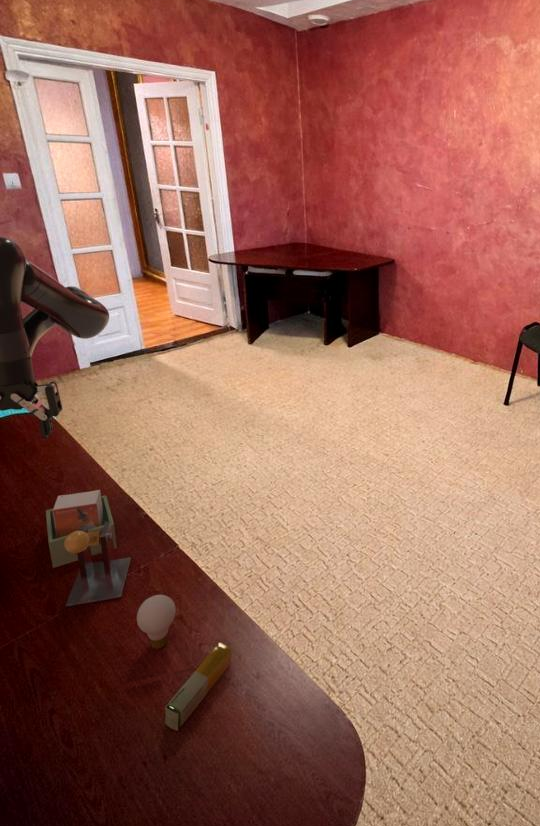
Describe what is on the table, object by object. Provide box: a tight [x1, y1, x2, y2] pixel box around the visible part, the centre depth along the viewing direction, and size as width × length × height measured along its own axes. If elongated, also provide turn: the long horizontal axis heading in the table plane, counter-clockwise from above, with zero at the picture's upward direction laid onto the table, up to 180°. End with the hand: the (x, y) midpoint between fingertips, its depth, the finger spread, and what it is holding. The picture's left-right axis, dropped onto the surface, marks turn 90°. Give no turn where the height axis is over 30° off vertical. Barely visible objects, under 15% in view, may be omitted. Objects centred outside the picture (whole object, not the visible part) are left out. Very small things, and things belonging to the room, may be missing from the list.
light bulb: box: [136, 594, 177, 650], centre depth 82 cm, size 6×6×10 cm
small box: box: [52, 489, 104, 538], centre depth 104 cm, size 8×6×10 cm
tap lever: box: [64, 531, 102, 553], centre depth 87 cm, size 14×4×4 cm
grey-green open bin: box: [45, 495, 118, 569], centre depth 105 cm, size 12×11×7 cm
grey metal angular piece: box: [65, 522, 132, 609], centre depth 93 cm, size 11×9×13 cm
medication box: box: [164, 642, 232, 732], centre depth 75 cm, size 12×3×4 cm, turn 160°
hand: (18, 438), depth 88 cm, fingers open, 8 cm apart
